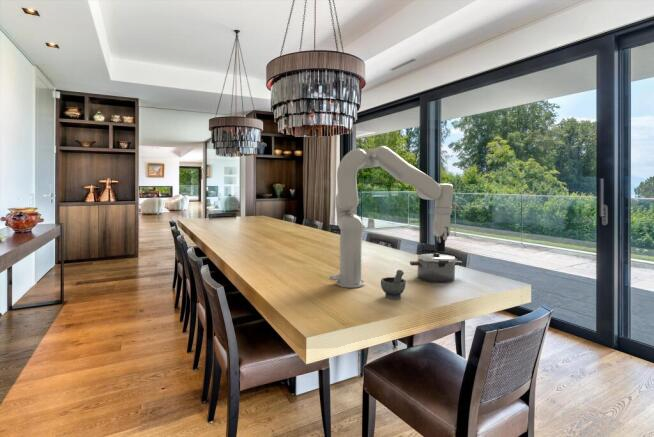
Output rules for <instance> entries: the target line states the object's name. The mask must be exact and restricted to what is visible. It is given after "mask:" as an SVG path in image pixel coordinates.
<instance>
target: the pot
mask: <svg viewBox="0 0 654 437" xmlns="http://www.w3.org/2000/svg"><path fill="white" fill-rule="evenodd" d="M463 264H464V263H463V261H461V260H455V261H454V262H448V263H438V262H427V261H422V260H419V259H418V258H417V260H416V261H415V260H414V261H413V260H411V261H409V265H410V266H417V274H416V276H417V279H419V280H420V281H423V282H428V283H432V284H433V283H434V284H446V283H447V284H448V283H452V282H454V281H455V280H456V279H455V278H456V277H455V275H456V274H455V273H456V266H463Z"/></svg>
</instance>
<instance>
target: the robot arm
mask: <svg viewBox="0 0 654 437" xmlns="http://www.w3.org/2000/svg"><path fill="white" fill-rule="evenodd" d="M376 167H380V168H381V169H383V170H384V171H385V172H387V173H388V174H389V175H391V177H393V178H394V179H395V180H397V181H399V182H401V183H403V184H406V185H409V186H411V187H413V188H414V189H416V195H417V196H418V197H419V198H420V199H422V200H428V201H429V200H430V201H434V208H433V209H434V210H433V214H434V216H433V223H432V235H434V236H435V237H436V251H437V253H439V252H443V253H444V252H445V250H446V241H447V240H448V237H450V235H451V215H453V214H452V213H453V195H454V194H453V193H454V185H453V184H451V183H438V182H437V181H436V180H434V179H433V178H432V177H431V176H429V175H428V174H426V173H425V172H423V171H421V170H420V169H418V168H416V167H415V166H414V165H412V164H410V163H408V162H407V161H406V160H405V159H403V158H402V157H401V156H400V155H398V154H397V153H396V152H395V151H393V150H392V149H390V148H389V147H387V146H385V145H381V146H378V147H376V148H368V149H362V148H359V147H358V148H357V147H356V148H353V149H351V150H350V151H348V152H347V153H346V154H345V155H344V156H343V157H342V159H341V160H340V162H339V165H338V168H337V170H336V171H337V172H336V179H337V182H336V184H337V194H336V197H335V210H336V219H337V220H336V221H337V225H338V228H339V229H340V237H339V257H340V258H339V272H338V274H336V275H333V274H331V275H329V280H332V281H336V285H337V286H338V287H341V288H349V289H350V288H362V287H363V286H364V285H365V280H363V279H362V243H363V242H362V238H363V230H364V229H363V222H362V219H361V218H360V217H359V216H358V214H357V212H358V211H357V207H358V206H359V203H360V199H359V193H358V192H359V191H358V184H357V182H358V181H357V180H358V179H357V177H358V171H359V170H362V169H371V168H376Z"/></svg>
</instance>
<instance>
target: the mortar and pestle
mask: <svg viewBox="0 0 654 437" xmlns="http://www.w3.org/2000/svg"><path fill="white" fill-rule="evenodd" d="M404 274H405V272H404V271H403V270H402V269H397V270H396V273H395V276H391V277H390V276H387V277H383V278H381V279H380V287H381V289H382V291H383V292H384V293H385V296H384V298H386V299H387V300H395V301H396V300H400V299H401V298H402V293H403V292H404V291H405V289H406V284H407V283H406V281H407V280H406V279H404V278H403V276H404Z"/></svg>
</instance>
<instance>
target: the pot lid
mask: <svg viewBox="0 0 654 437" xmlns="http://www.w3.org/2000/svg"><path fill="white" fill-rule="evenodd" d="M418 259H419V260H422V261H427V262H438V263H448V262H454V261H456V257H455V256H453V255H449V254H442V253H439V252H433V253H422V254H418V255H417V260H418Z"/></svg>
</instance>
